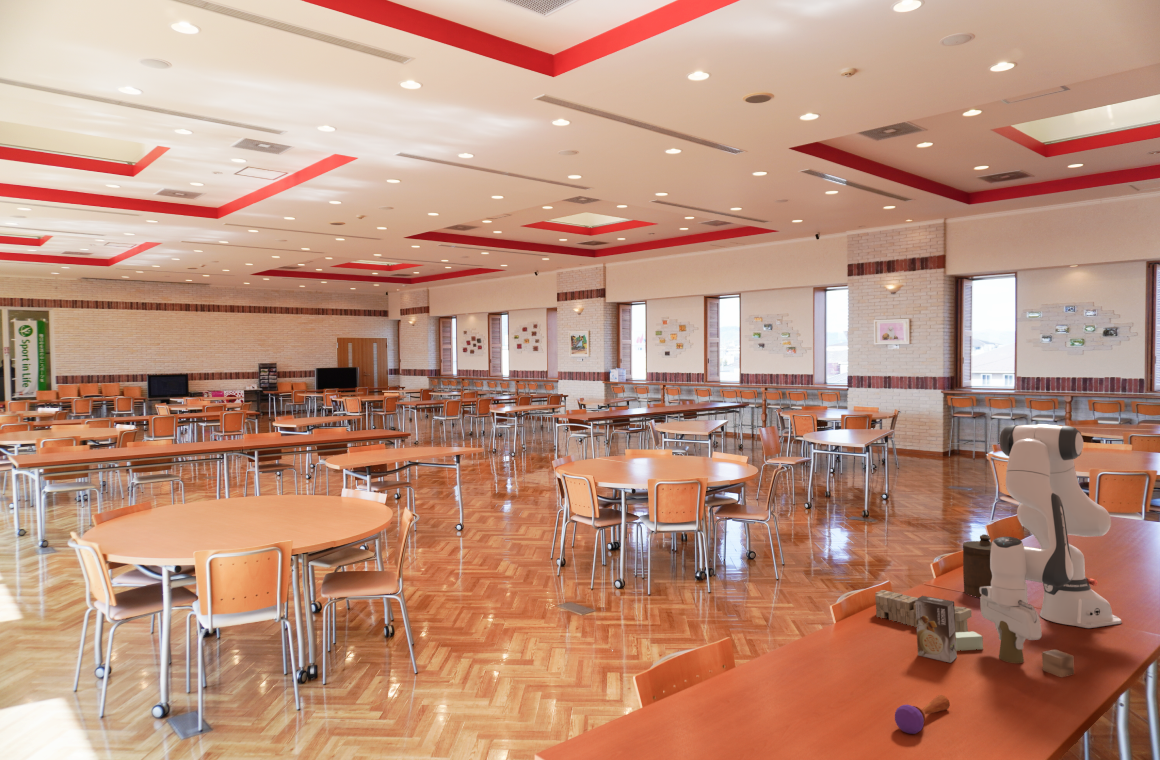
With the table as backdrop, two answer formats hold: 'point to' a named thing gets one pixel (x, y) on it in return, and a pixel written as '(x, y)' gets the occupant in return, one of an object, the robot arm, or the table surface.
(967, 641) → the sage block
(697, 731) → the table surface
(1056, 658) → the walnut cube
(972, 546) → the wooden container
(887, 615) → the block tower
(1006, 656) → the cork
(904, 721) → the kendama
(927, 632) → the coffee box
